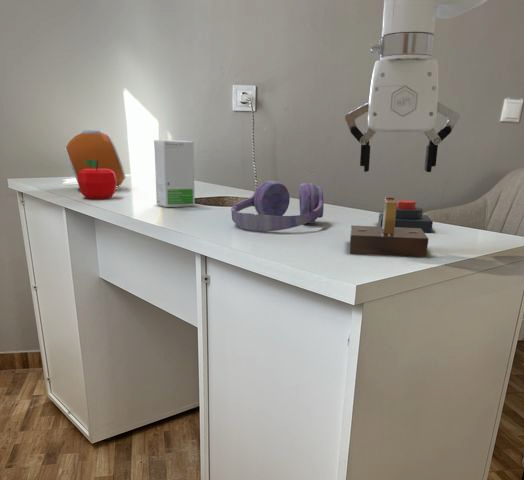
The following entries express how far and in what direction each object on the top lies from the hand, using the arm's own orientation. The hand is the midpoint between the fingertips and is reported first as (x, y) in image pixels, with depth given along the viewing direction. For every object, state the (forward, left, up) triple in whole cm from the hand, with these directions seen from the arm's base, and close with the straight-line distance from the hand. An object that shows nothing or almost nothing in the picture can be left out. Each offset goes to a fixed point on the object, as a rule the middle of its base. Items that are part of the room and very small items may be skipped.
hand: (396, 171), depth 89 cm
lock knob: (0, 0, -10) cm, 10 cm away
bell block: (-5, -24, -13) cm, 27 cm away
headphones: (+21, -21, -13) cm, 33 cm away
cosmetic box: (+50, -45, -13) cm, 69 cm away
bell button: (-5, -24, -9) cm, 26 cm away
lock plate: (0, 0, -13) cm, 13 cm away
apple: (+75, -55, -13) cm, 94 cm away
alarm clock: (+85, -77, -13) cm, 116 cm away
